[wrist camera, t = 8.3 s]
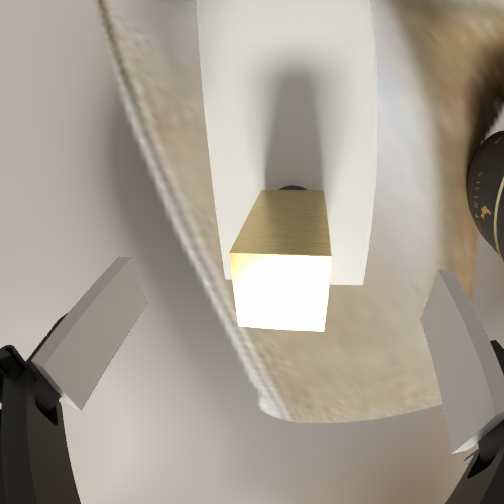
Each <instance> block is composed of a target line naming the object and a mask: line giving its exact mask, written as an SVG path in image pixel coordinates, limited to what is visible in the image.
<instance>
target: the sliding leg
mask: <svg viewBox="0 0 504 504" xmlns="http://www.w3.org/2000/svg"><path fill="white" fill-rule="evenodd" d="M229 257H230V265H231V272H232V280H233V288H234V295H235V303H236V310H237V317H238V324H239V326H248V327H260V328H274V329H290V330H309V331H324V324H325V316H326V308H327V300H328V290H329V281H330V270H331V259H332V255H331V244H330V235H329V226H328V217H327V209H326V201H325V194H324V191H317V190H261V191H260V193H259V195H258V197H257V199H256V201H255V203H254V205H253V207H252V209H251V211H250V212H249V214H248V216H247V218H246V220H245V222H244V224H243V226H242V228H241V230H240V232H239V234H238V236H237V238H236V240H235V242H234V244H233V246H232V248H231V250H230V252H229Z"/></svg>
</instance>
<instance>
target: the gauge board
mask: <svg viewBox="0 0 504 504" xmlns="http://www.w3.org/2000/svg"><path fill="white" fill-rule="evenodd" d="M196 9H197V25H198V39H199V52H200V65H201V77H202V88H203V99H204V109H205V119H206V129H207V138H208V148H209V157H210V165H211V174H212V182H213V191H214V199H215V207H216V215H217V222H218V230H219V237H220V245H221V252H222V259H223V266H224V273H225V279H231V280H232V272H231V265H230V257H229V252H230V250H231V248H232V246H233V244H234V242H235V240H236V238H237V236H238V234H239V232H240V230H241V228H242V226H243V224H244V222H245V220H246V218H247V216H248V214H249V212H250V211H251V209H252V207H253V205H254V203H255V201H256V199H257V197H258V195H259V193H260V191H261V190H317V191H324V194H325V201H326V209H327V217H328V226H329V235H330V244H331V255H332V259H331V270H330V281H329V284H339V285H363V280H364V274H365V268H366V262H367V255H368V248H369V241H370V234H371V225H372V217H373V207H374V196H375V184H376V169H377V149H378V82H377V63H376V49H375V38H374V29H373V20H372V13H371V6H370V0H196Z"/></svg>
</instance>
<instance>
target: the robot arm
mask: <svg viewBox="0 0 504 504" xmlns="http://www.w3.org/2000/svg"><path fill="white" fill-rule="evenodd" d="M147 304H148V303H147V300H146V298H145V295H144V292H143V290H142V286H141V283H140V281H139V278H138V275H137V272H136V269H135V266H134V262H133V259H132V258H131V257H118V258H117V259H116V261H115V262H114V263H113V264H112V265H111V266H110V267H109V268H108V269H107V270H106V271H105V272H104V273H103V274H102V276H101V277H100V278H99V279H98V280H97V281H96V282H95V283H94V284H93V285H92V286H91V288H90V289H89V290H88V291H87V292H86V293H85V294H84V296H83V297H82V298H81V299H80V300H79V301H78V303H77V304H76V305H75V306H74V307H73V308H72V309H71V311H70V312H69V313H67V314H66V315H64V316H63V317H62V318H61V319H59V320H58V321H57V323H56V324H55V325H54V326H53V328H52V330H50V331H49V333H48V334H47V336H45V337H44V339H43V340H42V341H41V343H40V344H39V345H38V346H37V348H36V349H35V350H34V352H33V353H32V354H31V356H30V357H29V358H28V360H27V361H26V362H25V361H24V360H23V358H22V357H21V355H20V354H19V353H18V351H17V350H16V349H15V348H14V346H12V345H6V346H4V347H2V348H1V349H0V403H2V410H1V409H0V504H81V502H80V498H79V495H78V492H77V488H76V484H75V480H74V476H73V471H72V467H71V462H70V458H69V452H68V447H67V441H66V435H65V428H64V420H63V412H62V406H61V403H60V402H59V399H60V397H62V398H63V399H64V400H65V401H66V402H67V403H68V404H69V405H70V406H72V407H75V408H76V409H79V410H81V411H82V409H83V407H84V406H85V404H86V402H87V400H88V399H89V397H90V395H91V394H92V392H93V390H94V389H95V387H96V385H97V383H98V382H99V380H100V378H101V377H102V375H103V373H104V371H105V370H106V368H107V367H108V365H109V363H110V362H111V360H112V359H113V357H114V355H115V354H116V352H117V351H118V349H119V347H120V346H121V344H122V343H123V341H124V339H125V338H126V336H127V335H128V333H129V332H130V330H131V328H132V327H133V325H134V324H135V322H136V321H137V319H138V318H139V316H140V315H141V313H142V312H143V310H144V308H145V307H146V306H147ZM420 320H421V323H422V326H423V329H424V332H425V335H426V339H427V342H428V345H429V349H430V352H431V356H432V360H433V363H434V367H435V371H436V375H437V379H438V383H439V387H440V392H441V396H442V401H443V406H444V411H445V416H446V422H447V428H448V434H449V441H450V449H451V454H453V453H457V452H461V451H465V450H468V449H470V448H471V447H473V446H474V445H475V444H476V443H478V445H479V449H478V450H476V451H475V452H474V453H472V454H471V455H470V456H468V457H467V458H466V459H465V460H464V462H465V463H466V462H468V461H469V460H470V459H472V460H471V461H470V463H469V465H468V467H467V469H466V471H465V473H464V474H463V476H462V478H461V480H460V481H459V483H458V485H457V486H456V488H455V489H454V491H453V493H452V494H451V496H450V498H449V499H448V500H447V502H446V503H445V504H504V349H503V348H502V347H501V345H500V344H499V343H498V342H497V341H496V340H493V341H490V340H489V338H488V336H487V334H486V332H485V329H484V327H483V325H482V323H481V321H480V319H479V317H478V315H477V313H476V311H475V309H474V307H473V305H472V303H471V301H470V299H469V297H468V296H467V294H466V292H465V290H464V288H463V287H462V285H461V283H460V281H459V280H458V278H457V276H456V274H455V273H454V271H453V270H442V269H438V270H437V274H436V277H435V280H434V283H433V286H432V289H431V292H430V295H429V298H428V301H427V303H426V306H425V309H424V311H423V314H422V317H421V319H420Z"/></svg>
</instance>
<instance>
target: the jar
mask: <svg viewBox="0 0 504 504" xmlns="http://www.w3.org/2000/svg"><path fill="white" fill-rule="evenodd" d="M467 198H468V204H469V209H470V212H471V215H472V217H473V219H474V221H475V224H476V226H477V228H478V230H479V231H480V233H481V234H482V236H483V237H484V238H485V239H486V241H487V242H488V243H489V244H490V245H491V246H492V247H493V248H494V250H495V251H496V252H497V253H498V254H499V256H500V257H501V259H502V261H503V262H504V131H499V132H497V133H494V134H493V135H491V136H490V137H488V138H487V139H486V140H485V141H484V142H483V143H482V144H481V146H480V147H479V149H478V150H477V152H476V154H475V156H474V158H473V161H472V163H471V167H470V170H469V175H468V182H467Z"/></svg>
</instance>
